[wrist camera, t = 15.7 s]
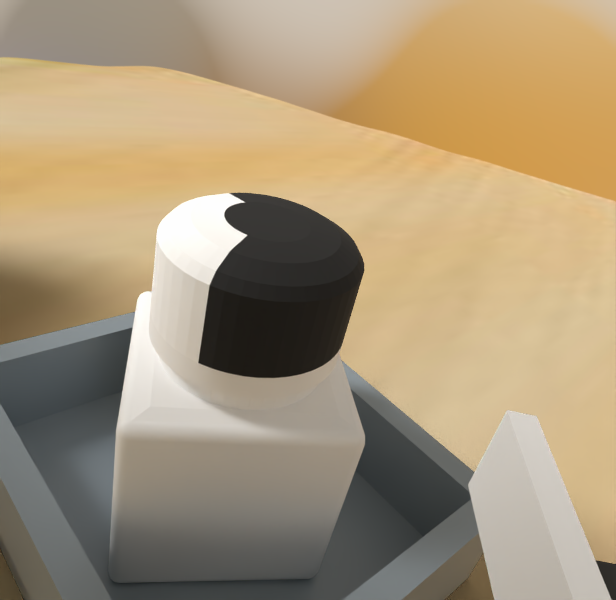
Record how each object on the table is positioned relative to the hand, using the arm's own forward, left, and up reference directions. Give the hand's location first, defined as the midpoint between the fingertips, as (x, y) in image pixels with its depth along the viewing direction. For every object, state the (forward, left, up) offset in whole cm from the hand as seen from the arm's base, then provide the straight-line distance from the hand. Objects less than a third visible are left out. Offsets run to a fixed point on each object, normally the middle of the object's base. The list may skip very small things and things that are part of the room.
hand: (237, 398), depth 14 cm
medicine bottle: (-3, +3, -9) cm, 10 cm away
